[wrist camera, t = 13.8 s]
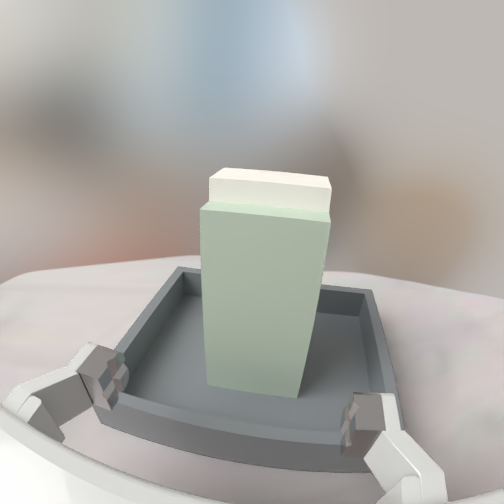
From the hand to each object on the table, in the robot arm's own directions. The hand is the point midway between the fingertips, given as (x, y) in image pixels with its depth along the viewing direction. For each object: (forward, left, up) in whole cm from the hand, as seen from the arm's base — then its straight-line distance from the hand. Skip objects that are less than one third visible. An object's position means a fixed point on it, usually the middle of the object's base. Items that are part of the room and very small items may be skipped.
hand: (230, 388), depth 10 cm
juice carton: (0, -9, -8) cm, 12 cm away
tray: (0, -10, -9) cm, 13 cm away
